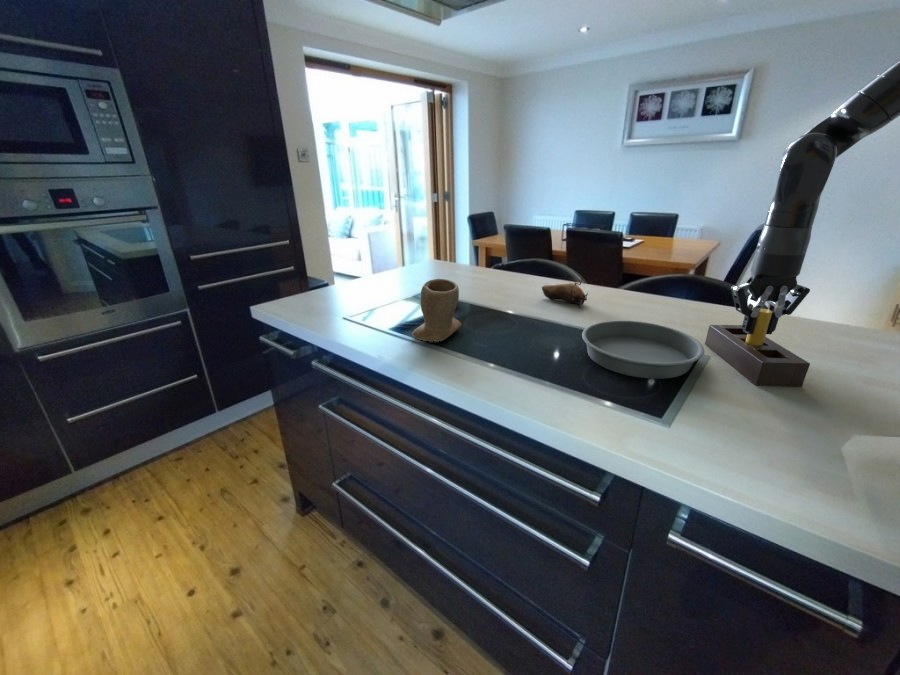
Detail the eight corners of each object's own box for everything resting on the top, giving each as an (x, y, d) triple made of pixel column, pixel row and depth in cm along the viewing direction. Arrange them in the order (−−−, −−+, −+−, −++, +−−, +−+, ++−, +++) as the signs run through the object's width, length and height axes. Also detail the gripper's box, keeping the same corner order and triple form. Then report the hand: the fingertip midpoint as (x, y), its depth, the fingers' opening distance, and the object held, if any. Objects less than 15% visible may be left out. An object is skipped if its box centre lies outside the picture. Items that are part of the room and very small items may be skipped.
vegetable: (530, 294, 126) (539, 265, 125) (541, 302, 135) (550, 275, 135) (578, 305, 117) (588, 274, 117) (586, 313, 126) (596, 283, 126)
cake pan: (656, 396, 73) (660, 375, 71) (557, 351, 92) (559, 334, 90) (723, 362, 84) (728, 343, 83) (623, 329, 104) (625, 313, 102)
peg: (754, 352, 84) (766, 308, 81) (762, 357, 82) (776, 312, 78) (739, 351, 85) (751, 308, 81) (747, 357, 82) (759, 312, 78)
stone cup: (446, 349, 95) (444, 290, 90) (406, 341, 101) (401, 285, 95) (472, 328, 108) (472, 275, 102) (435, 322, 113) (433, 271, 107)
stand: (741, 344, 93) (746, 325, 91) (802, 386, 74) (810, 363, 72) (704, 344, 94) (709, 324, 92) (755, 385, 75) (762, 362, 73)
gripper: (752, 254, 72) (730, 339, 79) (836, 252, 70) (807, 340, 77) (730, 247, 79) (712, 326, 86) (806, 245, 77) (781, 326, 84)
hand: (757, 332), depth 81 cm, fingers closed on peg, 3 cm apart
